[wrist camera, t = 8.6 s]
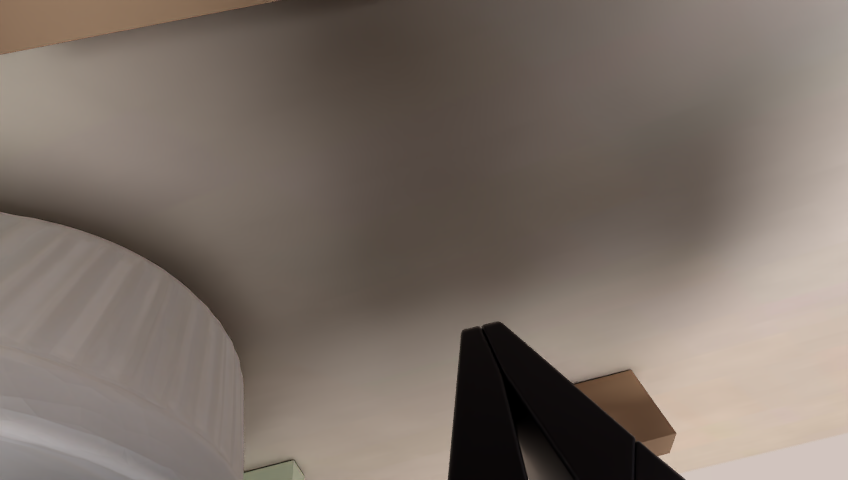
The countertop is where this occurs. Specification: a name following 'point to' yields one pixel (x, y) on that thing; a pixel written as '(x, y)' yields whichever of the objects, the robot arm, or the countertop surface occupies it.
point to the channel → (159, 3)
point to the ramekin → (109, 365)
